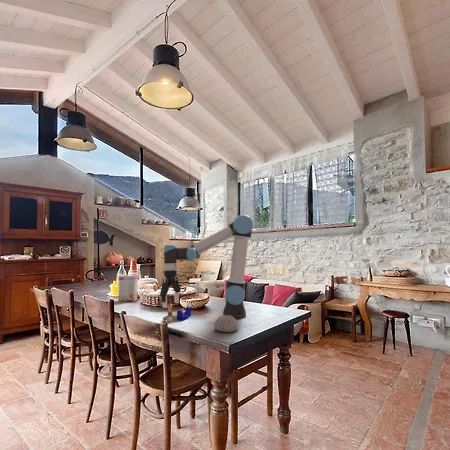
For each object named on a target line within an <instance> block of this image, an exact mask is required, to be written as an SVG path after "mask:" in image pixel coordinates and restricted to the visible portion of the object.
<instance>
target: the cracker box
mask: <svg viewBox="0 0 450 450" xmlns="http://www.w3.org/2000/svg"><path fill="white" fill-rule="evenodd" d="M138 277H139V276H138V275H126V274H125V275H119V276H118V302H119V301H135V302H137V301H138V280H139V279H138ZM136 300H137V301H136Z"/></svg>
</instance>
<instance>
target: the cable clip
mask: <svg viewBox="0 0 450 450" xmlns="http://www.w3.org/2000/svg"><path fill="white" fill-rule="evenodd" d="M183 311H185V313H184V315H183ZM176 312H177V320H176V321H179V322H180V321H181V322H184V321H186V320H188V319H189V318H190V316H191V317H192V307H191V306H186V307H185V310H181V309H178V310H176Z"/></svg>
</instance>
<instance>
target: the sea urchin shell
mask: <svg viewBox="0 0 450 450" xmlns="http://www.w3.org/2000/svg"><path fill="white" fill-rule="evenodd" d="M214 328H215V329H216V330H217V331H219V332H222V333H224V332H225V333H232V332H235V331H237V330H238V329H239V322H238V320H237V319H235V318H234V317H233V316H231V315H223V314H222V315H221V316H219V317H218V318H216V320H215V321H214Z"/></svg>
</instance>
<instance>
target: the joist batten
mask: <svg viewBox="0 0 450 450" xmlns="http://www.w3.org/2000/svg"><path fill="white" fill-rule="evenodd" d="M182 311H183V315H184V313H185V311H186V310H182ZM163 320H167V322H168V323H167V324H172V323H174V322H176V321H178V320H177V311H175V312H172V317H168V315H165V316H163V317H162V321H163Z"/></svg>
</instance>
